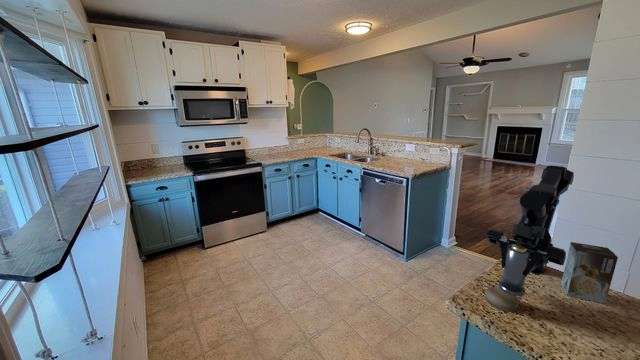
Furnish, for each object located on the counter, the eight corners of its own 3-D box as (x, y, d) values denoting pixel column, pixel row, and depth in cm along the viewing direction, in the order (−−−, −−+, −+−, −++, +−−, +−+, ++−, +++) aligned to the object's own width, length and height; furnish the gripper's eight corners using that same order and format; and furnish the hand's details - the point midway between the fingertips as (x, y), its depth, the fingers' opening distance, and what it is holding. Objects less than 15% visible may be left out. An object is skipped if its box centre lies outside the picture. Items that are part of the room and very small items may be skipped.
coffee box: (596, 292, 86) (609, 247, 81) (605, 304, 80) (620, 257, 76) (559, 284, 90) (570, 241, 86) (566, 295, 84) (577, 250, 80)
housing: (515, 282, 83) (523, 241, 79) (530, 296, 76) (539, 253, 73) (494, 282, 83) (500, 241, 79) (507, 296, 77) (515, 253, 73)
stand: (498, 289, 88) (499, 284, 87) (524, 307, 80) (525, 301, 79) (478, 295, 85) (479, 290, 85) (503, 314, 78) (504, 308, 77)
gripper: (492, 204, 83) (473, 248, 79) (573, 223, 69) (555, 277, 65) (497, 220, 90) (480, 261, 86) (571, 240, 76) (555, 290, 72)
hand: (513, 271), depth 77 cm, fingers closed on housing, 5 cm apart
